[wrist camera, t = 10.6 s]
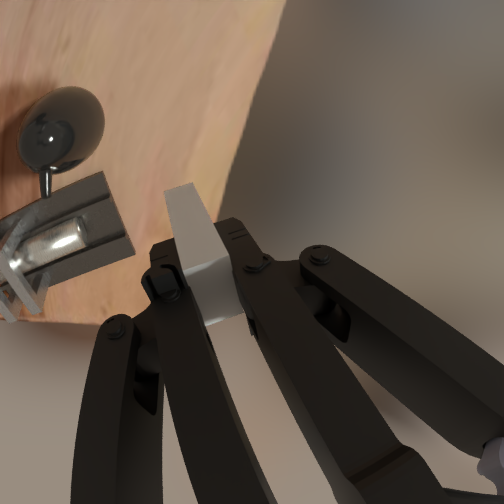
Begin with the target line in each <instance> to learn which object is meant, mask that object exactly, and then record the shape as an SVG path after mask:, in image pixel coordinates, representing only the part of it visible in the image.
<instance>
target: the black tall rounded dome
mask: <svg viewBox="0 0 504 504" xmlns="http://www.w3.org/2000/svg"><path fill="white" fill-rule="evenodd" d="M104 127H105V117H104V112H103V108H102V106H101V104H100V102H99V101H98V99H97V98H96V97H95V96H94V95H93V94H92V93H91V92H89V91H88V90H86V89H84V88H81V87H76V86H67V87H61V88H58V89H55V90H53V91H51V92H49V93H47V94H46V95H44V96H43V97H41V98H40V99H39V100H38V101H37V102H36V103H35V104H34V105H33V106H32V107H31V108H30V109H29V111H28V112H27V114H26V115H25V117H24V119H23V121H22V123H21V125H20V127H19V130H18V134H17V140H16V148H17V153H18V156H19V159H20V161H21V162H22V164H23V165H24V166H25V167H26V168H27V169H29V170H30V171H32V172H35V173H38V174H39V181H40V191H41V198H42V199H44V200H45V199H49V198H50V197H51V186H52V175H57V174H61V173H65V172H67V171H70V170H72V169H74V168H75V167H77V166H79V165H80V164H82V163H83V162H84V161H86V160H87V159H88V158H89V157H90V156H91V155H92V154H93V153H94V151H95V150H96V148H97V147H98V145H99V143H100V141H101V139H102V136H103V133H104Z"/></svg>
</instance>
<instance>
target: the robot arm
mask: <svg viewBox="0 0 504 504" xmlns="http://www.w3.org/2000/svg"><path fill="white" fill-rule="evenodd" d="M164 195H165V200H166V204H167V209H168V213H169V218H170V222H171V226H172V230H173V235H174V238H171V239H168V240H165V241H162V242H160V243H157V244H154V245H153V246H152V249H151V251H150V253H149V254H150V263H151V267H150V268H149V269H148V270H147V271H146V272H145V273H144V275H143V276H142V279H141V284H142V286H143V288H144V290H145V292H146V293H147V295H148V297H149V299H150V301H151V304H150V305H149V306H148V307H147V308H146V309H145V310H144V311H143V312H141V313H140V314H138V315H137V316H135V317H134V318H131V317H130V316H128V315H126V314H118V315H114V316H112V317H110V318H108V319H107V320H106V321H105V322H104V323H103V324H102V325H101V327H100V329H99V331H98V334H97V337H96V341H95V346H94V349H93V353H92V357H91V361H90V366H89V370H88V374H87V379H86V383H85V388H84V393H83V398H82V404H81V409H80V415H79V421H78V428H77V434H76V442H75V449H74V459H73V469H72V482H71V501H70V504H163V486H162V428H163V426H162V425H163V400H164V383H165V388H166V392H167V397H168V401H169V406H170V410H171V414H172V418H173V422H174V426H175V430H176V434H177V437H178V441H179V445H180V448H181V452H182V455H183V458H184V462H185V465H186V468H187V472H188V475H189V478H190V481H191V484H192V487H193V490H194V493H195V496H196V498H197V501H198V504H278V503H277V501H276V499H275V497H274V495H273V493H272V491H271V489H270V486H269V484H268V482H267V480H266V478H265V476H264V473H263V471H262V469H261V467H260V465H259V462H258V460H257V458H256V455H255V453H254V451H253V448H252V446H251V444H250V442H249V439H248V437H247V434H246V432H245V429H244V427H243V425H242V422H241V420H240V417H239V415H238V412H237V410H236V407H235V404H234V402H233V400H232V397H231V394H230V392H229V389H228V386H227V384H226V381H225V378H224V376H223V373H222V370H221V368H220V365H219V362H218V359H217V356H216V353H215V351H214V348H213V345H212V342H211V339H210V337H209V334H208V332H207V330H206V327H205V326H208V325H210V324H213V323H216V322H219V321H222V320H225V319H227V318H230V317H233V316H236V315H238V314H241V313H244V312H243V309H244V311H245V314H246V317H247V321H248V325H249V329H250V333H251V335H254V337H255V339H256V341H257V343H258V345H259V347H260V349H261V352H262V353H263V356H264V358H265V360H266V362H267V364H268V366H269V368H270V370H271V372H272V374H273V376H274V378H275V380H276V382H277V384H278V386H279V388H280V390H281V392H282V394H283V396H284V398H285V400H286V402H287V404H288V406H289V408H290V410H291V412H292V414H293V416H294V418H295V420H296V422H297V424H298V426H299V428H300V429H301V431H302V433H303V435H304V437H305V439H306V441H307V443H308V445H309V447H310V449H311V450H312V452H313V454H314V456H315V458H316V460H317V462H318V464H319V465H320V467H321V469H322V471H323V473H324V475H325V476H326V478H327V480H328V482H329V484H330V486H331V488H332V491H333V494H334V496H335V499H336V501H337V502H338V504H504V365H503V364H501V363H500V362H499V361H497V360H496V359H495V358H494V357H492V356H491V355H490V354H488V353H487V352H486V351H484V350H483V349H482V348H480V347H479V346H477V345H476V344H475V343H474V342H472V341H471V340H469V339H468V338H467V337H465V336H464V335H463V334H461V333H460V332H458V331H457V330H456V329H454V328H453V327H451V326H450V325H449V324H447V323H446V322H444V321H443V320H441V319H440V318H439V317H437V316H436V315H434V314H433V313H432V312H430V311H429V310H427V309H426V308H424V307H423V306H421V305H420V304H419V303H417V302H416V301H414V300H413V299H411V298H410V297H408V296H407V295H405V294H404V293H402V292H401V291H399V290H398V289H396V288H395V287H393V286H392V285H390V284H388V283H387V282H386V281H384V280H383V279H381V278H379V277H378V276H376V275H375V274H373V273H372V272H370V271H369V270H367V269H366V268H364V267H362V266H361V265H359V264H358V263H356V262H355V261H353V260H351V259H350V258H348V257H347V256H345V255H344V254H342V253H340V252H339V251H337V250H336V249H334V248H332V247H329V246H326V245H313V246H310V247H308V248H306V249H304V250H303V251H302V252H301V254H300V256H299V260H292V261H276V260H274V259H273V258H272V257H271V256H270V255H268V254H265V253H263V252H262V251H261V249H260V248H259V247H258V245H257V244H256V242H255V241H254V239H253V238H252V236H251V235H250V234H249V232H248V231H247V229H246V228H245V226H244V225H243V223H242V222H241V221H240V220H237V219H235V218H233V217H232V218H229V219H226V220H223V221H220V222H216V223H213V222H212V220H211V218H210V216H209V214H208V212H207V210H206V208H205V206H204V204H203V202H202V200H201V198H200V196H199V194H198V192H197V190H196V188H195V186H194V184H193V182H192V183H189V184H186V185H182V186H179V187H176V188H173V189H170V190H167V191H164ZM242 307H243V308H242ZM333 344H334V345H335V346H336V347H337V348H339V349H340V350H341V351H342V352H343V353H344V354H346V356H348V357H349V358H350V359H351V360H352V361H353V362H355V363H356V364H357V365H358V366H359V367H360V368H361V369H363V370H364V371H365V372H366V373H367V374H368V375H370V376H371V377H372V378H373V379H374V380H376V381H377V382H378V383H379V384H380V385H381V386H382V387H384V388H385V389H386V390H387V391H388V392H389V393H391V394H392V395H393V396H394V397H395V398H397V399H398V400H399V401H400V402H401V403H403V404H404V405H405V406H406V407H407V408H408V409H410V410H411V411H412V412H413V413H414V414H415V415H417V416H418V417H419V418H420V419H422V420H423V421H424V422H425V423H426V424H427V425H429V426H430V427H431V428H432V429H433V430H435V431H436V432H437V433H438V434H439V435H441V436H442V437H443V438H444V439H445V440H447V441H448V442H449V443H451V444H452V445H453V446H455V447H456V448H457V449H459V450H461V451H463V452H465V453H467V454H468V455H471V456H474V457H477V458H480V459H481V460H480V461H479V463H478V465H477V471H478V473H479V474H480V475H484V476H485V477H486V478H487V479H489V480H491V481H492V482H493V483H494V484H495V486H496V488H497V495H490V494H480V493H474V492H467V491H460V490H454V489H449V488H442V486H441V485H440V483H439V482H438V480H437V479H436V477H435V476H434V474H433V473H432V471H431V469H430V468H429V466H428V465H427V463H426V462H425V460H424V459H423V458H422V457H421V456H420V455H419V453H418V452H416V451H415V450H414V449H413V448H411V447H408V446H405V445H403V444H402V443H401V442H399V440H398V439H397V438H396V437H395V435H394V433H393V432H392V430H391V429H390V427H389V426H388V424H387V423H386V421H385V420H384V418H383V417H382V415H381V414H380V413H379V411H378V409H377V408H376V406H375V405H374V403H373V402H372V401H371V399H370V398H369V396H368V395H367V393H366V392H365V390H364V389H363V387H362V386H361V384H360V383H359V381H358V380H357V378H356V377H355V375H354V374H353V373H352V371H351V369H350V368H349V367H348V365H347V364H346V362H345V361H344V359H343V358H342V356H341V355H340V354H339V352H338V351H337V349H336V348H335V346H334V345H333Z"/></svg>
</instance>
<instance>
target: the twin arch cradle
mask: <svg viewBox="0 0 504 504" xmlns="http://www.w3.org/2000/svg"><path fill="white" fill-rule="evenodd" d="M75 217H78V218H80V219H81V221H82V223H83V225H84V227H85V229H86V233H87V237H88V245H87V247H84V248H82V249H80V250H77V251H75V252H72V253H70V254H67V255H65V256H62V257H60V258H58V259H55V260H53V261H51V262H48V263H46V264H44V265H41V266H39V267H37V268H34V269H32V270H30V271H28V272H25V273H23V274H22V273H21V271H20V269H19V268H18V266H17V265H16V263H15V261H14V260H13V258H12V255H13V253H14V251H15V250H16V248H17V246H18V244H19V243H21V242H23V241H25V240H27V239H29V238H31V237H33V236H35V235H37V234H40V233H42V232H44V231H46V230H48V229H50V228H53V227H55V226H57V225H59V224H61V223H64V222H66V221H68V220H71V219H73V218H75ZM133 255H136V253H135V249H134V247H133V245H132V242H131V240H130V238H129V235H128V233H127V231H126V228H125V226H124V224H123V221H122V219H121V216H120V214H119V212H118V209H117V207H116V204H115V202H114V199H113V196H112V194H111V191H110V189H109V186H108V183H107V181H106V178H105V175H104V172H103V171H101V172H98V173H96V174H94V175H91V176H89V177H86V178H84V179H82V180H79V181H77V182H75V183H72V184H70V185H68V186H66V187H63V188H61V189H59V190H57V191H55V192H53V193H51V197H50V198H49V199H45V200H44V199H42V198H40V199H38V200H36V201H34V202H32V203H30V204H28V205H27V206H25V207H23V208H21V209H19V210H17V211H15V212H13V213H12V214H10V215H8V216H6V217H4V218H3V219H1V220H0V270H1V272H2V273H3V275H4V276H5V278H6V279H7V281H6V282H4V283H2V284H1V286H0V313H1V314H2V315H3V317H4V318H5V319H6V320H7V321H8V322H9V323H12V322H15V321H17V320H18V317H19V313H20V310H21V307H22V304H23V303H24V305H25V306H26V307H27V309H28V310H29V311H30V313H31V314H32V315H34V314H37V313H40V312H42V309H43V305H44V301H45V297H46V294H47V290H48V287H50V286H53V285H55V284H58V283H61V282H63V281H66V280H68V279H71V278H73V277H76V276H79V275H81V274H84V273H87V272H89V271H92V270H95V269H97V268H100V267H103V266H105V265H108V264H111V263H114V262H116V261H119V260H122V259H125V258H127V257H130V256H133ZM4 290H6V291H7V292H8V294H9V297H8V298H7V297H6V296H5V294H4V293H3V291H4Z"/></svg>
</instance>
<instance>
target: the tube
mask: <svg viewBox="0 0 504 504" xmlns="http://www.w3.org/2000/svg"><path fill="white" fill-rule="evenodd" d="M87 245H88V237H87V233H86V229H85V227H84V225H83V223H82V221H81V219H80V218H78V217H75V218H73V219H71V220H68V221H66V222H64V223H61V224H59V225H57V226H55V227H53V228H50V229H48V230H46V231H44V232H42V233H40V234H37V235H35V236H33V237H31V238H29V239H27V240H25V241H23V242H21V243H19V244H18V246H17V248H16V250H15V251H14V253H13V255H12V258H13V260H14V261H15V263H16V265H17V266H18V268H19V269H20V271H21V273H22V274H23V273H25V272H28V271H30V270H32V269H34V268H37V267H39V266H41V265H44V264H46V263H48V262H51V261H53V260H55V259H58V258H60V257H62V256H65V255H67V254H70V253H72V252H75V251H77V250H80V249H82V248H84V247H87ZM6 281H7V279H6V278H5V276H4V275H3V273H2V272H1V270H0V284H2V283H4V282H6Z"/></svg>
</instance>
